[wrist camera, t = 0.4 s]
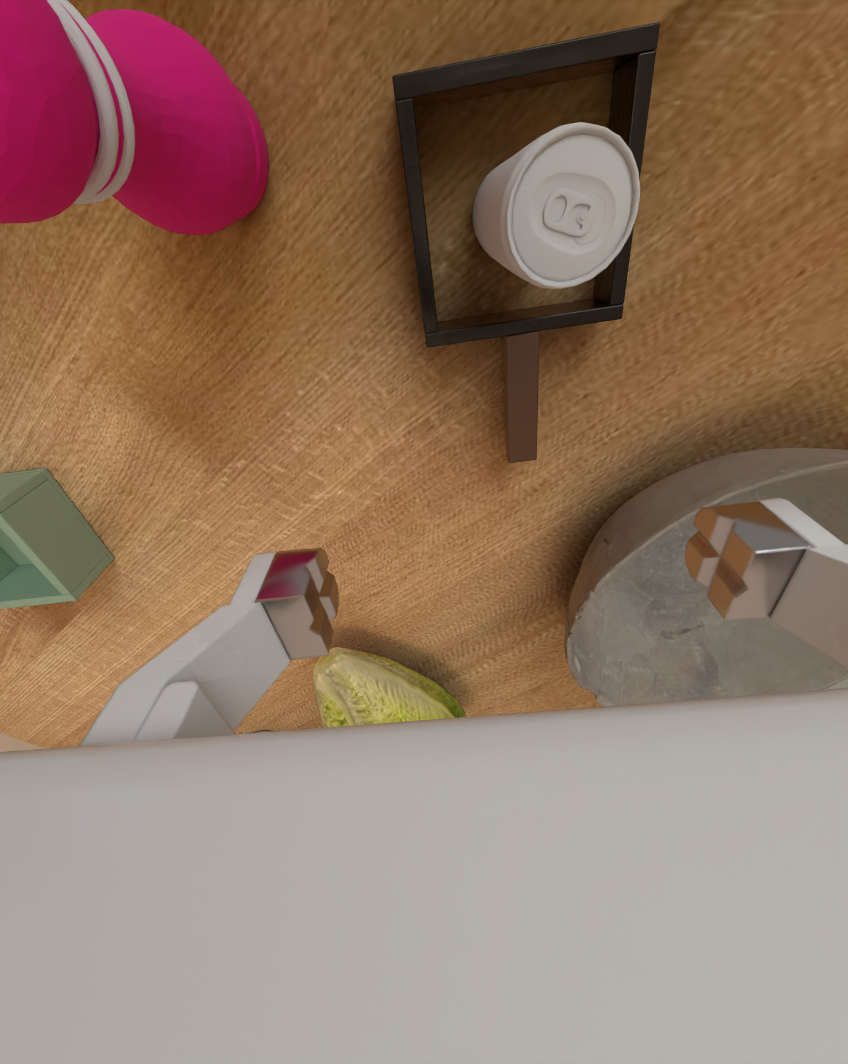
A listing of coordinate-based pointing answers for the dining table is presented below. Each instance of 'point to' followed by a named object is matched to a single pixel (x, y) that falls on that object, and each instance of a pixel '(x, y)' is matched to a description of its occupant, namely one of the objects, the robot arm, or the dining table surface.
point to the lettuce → (376, 691)
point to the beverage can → (559, 206)
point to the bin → (44, 543)
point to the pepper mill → (121, 120)
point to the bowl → (695, 588)
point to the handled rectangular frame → (412, 91)
